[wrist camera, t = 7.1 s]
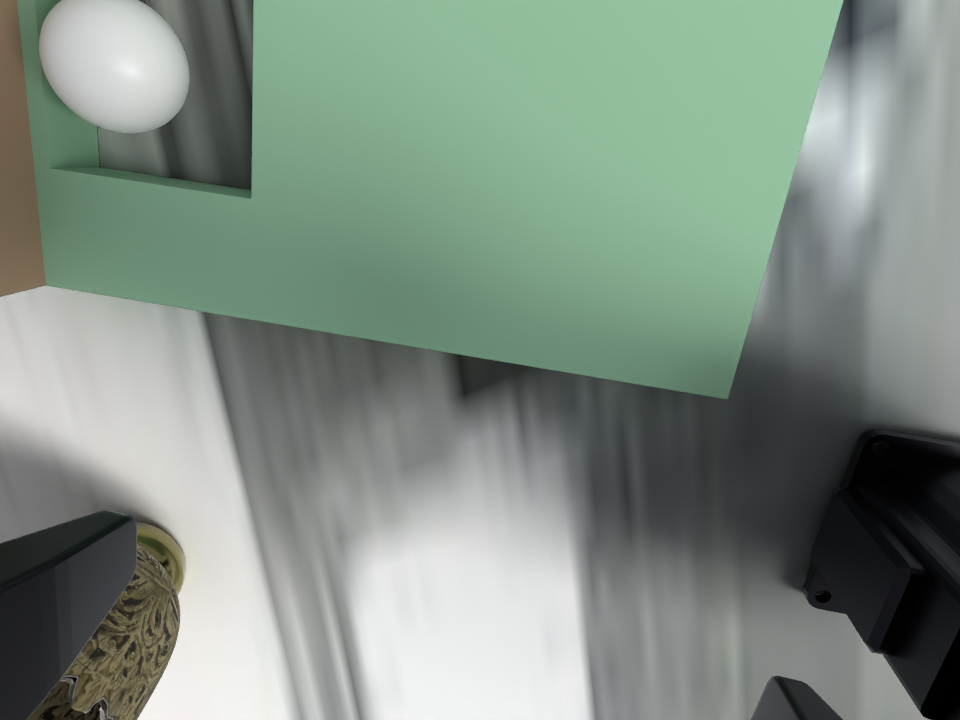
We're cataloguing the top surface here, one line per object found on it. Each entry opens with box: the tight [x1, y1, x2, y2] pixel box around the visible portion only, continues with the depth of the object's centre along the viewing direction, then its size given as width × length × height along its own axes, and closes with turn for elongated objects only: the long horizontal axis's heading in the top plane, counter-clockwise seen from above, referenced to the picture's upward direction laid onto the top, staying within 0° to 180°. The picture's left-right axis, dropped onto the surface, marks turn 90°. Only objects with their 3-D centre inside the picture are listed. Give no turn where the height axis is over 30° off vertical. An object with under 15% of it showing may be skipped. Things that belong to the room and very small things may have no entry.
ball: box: [39, 0, 190, 133], centre depth 17 cm, size 4×4×4 cm
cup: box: [27, 522, 186, 720], centre depth 20 cm, size 8×7×8 cm
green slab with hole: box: [0, 0, 843, 399], centre depth 16 cm, size 22×13×4 cm, turn 83°
